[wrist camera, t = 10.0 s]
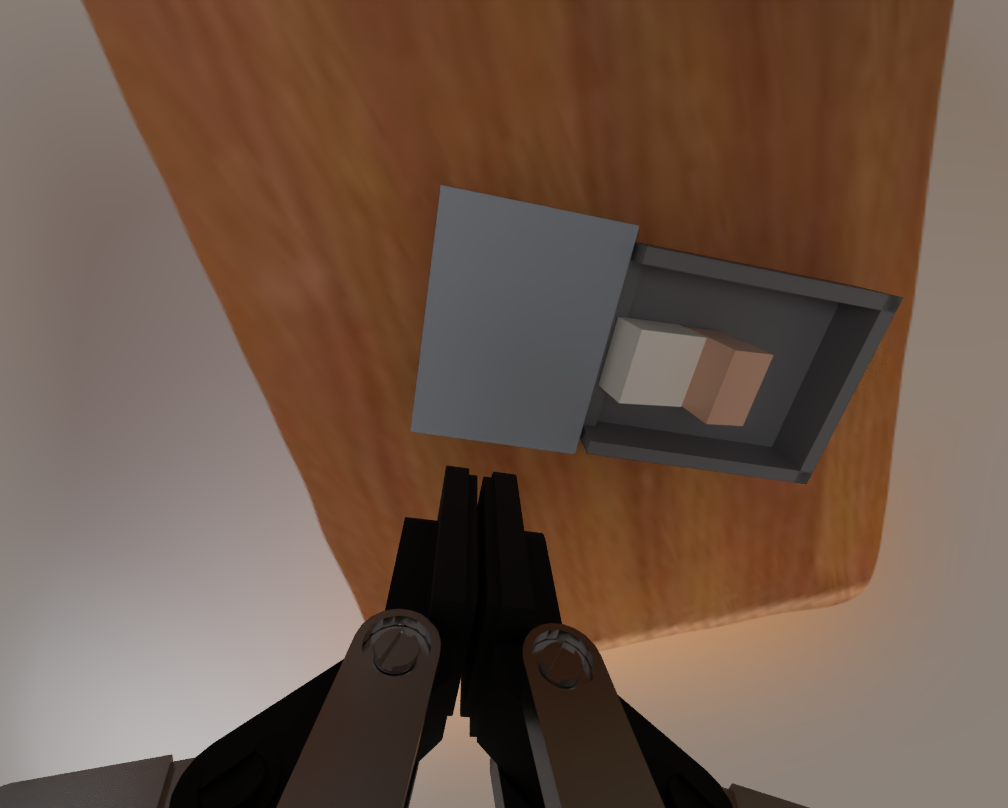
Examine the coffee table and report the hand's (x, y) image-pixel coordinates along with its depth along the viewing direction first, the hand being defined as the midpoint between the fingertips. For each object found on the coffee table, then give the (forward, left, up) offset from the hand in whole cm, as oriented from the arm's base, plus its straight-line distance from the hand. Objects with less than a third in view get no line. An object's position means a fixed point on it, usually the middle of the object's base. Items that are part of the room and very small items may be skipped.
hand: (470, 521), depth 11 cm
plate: (+1, +3, -23) cm, 23 cm away
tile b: (+1, +15, -20) cm, 25 cm away
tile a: (+1, +12, -22) cm, 25 cm away
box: (+1, +18, -23) cm, 29 cm away
